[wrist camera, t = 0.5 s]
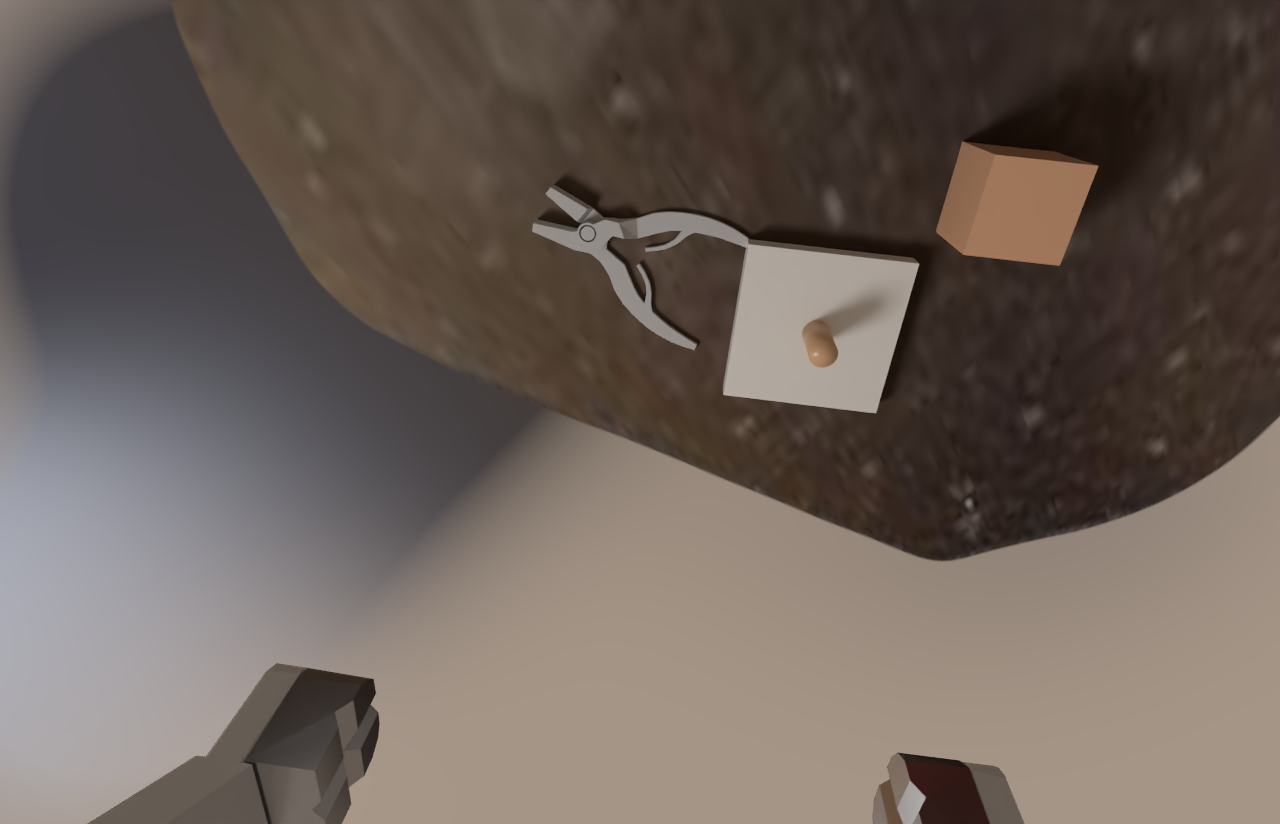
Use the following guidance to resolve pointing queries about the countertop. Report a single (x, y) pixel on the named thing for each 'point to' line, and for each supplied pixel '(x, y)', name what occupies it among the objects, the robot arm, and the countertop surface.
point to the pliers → (601, 229)
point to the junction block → (816, 324)
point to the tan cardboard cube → (1014, 202)
